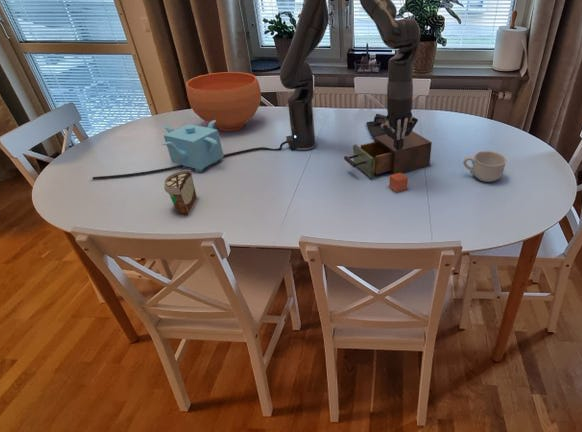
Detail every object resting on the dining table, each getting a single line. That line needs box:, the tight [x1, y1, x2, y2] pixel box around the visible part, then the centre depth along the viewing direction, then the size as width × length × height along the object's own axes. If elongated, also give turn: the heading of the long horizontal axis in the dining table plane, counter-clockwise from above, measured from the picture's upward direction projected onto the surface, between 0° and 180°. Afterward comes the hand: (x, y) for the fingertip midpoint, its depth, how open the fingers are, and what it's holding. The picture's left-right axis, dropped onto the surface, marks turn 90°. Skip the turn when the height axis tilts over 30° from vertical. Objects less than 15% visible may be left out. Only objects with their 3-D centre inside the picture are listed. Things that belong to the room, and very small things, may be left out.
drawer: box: [343, 141, 393, 179], centre depth 141 cm, size 20×13×7 cm, turn 119°
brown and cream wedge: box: [163, 169, 198, 216], centre depth 120 cm, size 12×6×10 cm, turn 5°
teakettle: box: [161, 120, 225, 173], centre depth 143 cm, size 19×19×15 cm
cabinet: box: [373, 130, 433, 175], centre depth 145 cm, size 16×14×9 cm
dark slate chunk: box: [365, 113, 393, 138], centre depth 172 cm, size 15×22×5 cm
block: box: [388, 172, 409, 193], centre depth 131 cm, size 4×4×4 cm
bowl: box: [185, 71, 262, 132], centre depth 173 cm, size 30×30×20 cm
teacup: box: [462, 150, 507, 183], centre depth 136 cm, size 14×11×8 cm
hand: (398, 149), depth 125 cm, fingers closed
